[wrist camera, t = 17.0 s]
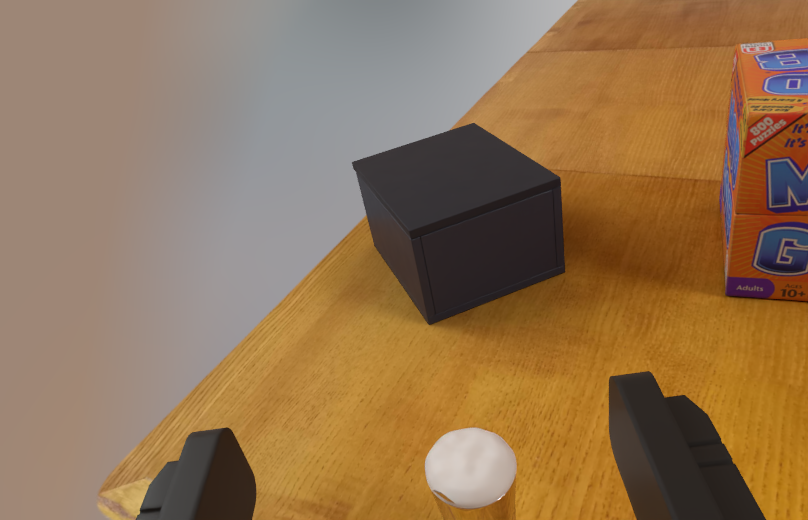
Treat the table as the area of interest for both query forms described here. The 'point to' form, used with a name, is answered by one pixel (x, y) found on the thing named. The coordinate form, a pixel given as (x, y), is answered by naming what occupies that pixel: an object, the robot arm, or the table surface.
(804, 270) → the game box
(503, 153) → the case lid
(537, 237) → the case
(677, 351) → the table surface
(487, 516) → the milkshake
